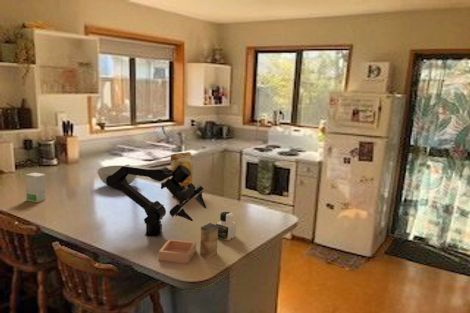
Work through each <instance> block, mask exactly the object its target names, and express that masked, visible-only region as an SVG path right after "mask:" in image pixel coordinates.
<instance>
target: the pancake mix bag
mask: <svg viewBox="0 0 470 313" xmlns="http://www.w3.org/2000/svg"><path fill="white" fill-rule="evenodd" d="M192 157H193V156H192V153H191V152H189V151H187V152H180V153H179V152H178V153H177V152H176V153H173V154H171V155H170V165H171V166H170V167H171V169H170V170H175V169H176V168H177V167H178V166H179V165H180V164H181V165H182V166H185V167H186V168H188V169H189V170H190V172H191V175H190V176H189V177H188V178H187V179H186V180H185V181H184V182H183V183H179V184H180V185H181V186H184V187H185V188H187V187H188V186H187V185H189V184H190V183H192V184H193V174H194V167H193V158H192ZM172 198H174V197H173V195H172Z"/></svg>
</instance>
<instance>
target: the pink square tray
mask: <svg viewBox="0 0 470 313" xmlns="http://www.w3.org/2000/svg"><path fill="white" fill-rule="evenodd" d="M196 251H197V242H195V241H188V240H180V239H179V240H178V239H171V238H169V239H168V240H166V241H165V243H164V244H163V245H162V247H161V248H160V249H159V250H158V261H160V262H168V263H175V264H183V265H189V264H190V262H191V260H192V259H193V257H194V255H195V254H196Z"/></svg>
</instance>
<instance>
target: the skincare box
mask: <svg viewBox="0 0 470 313" xmlns="http://www.w3.org/2000/svg"><path fill="white" fill-rule="evenodd" d="M25 189H26V193H25V194H26V195H25V199H26V201H29V202H33V203H40V202H42V201H46V174H45V173H41V172H40V173H39V172H31V173H26V174H25Z"/></svg>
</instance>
